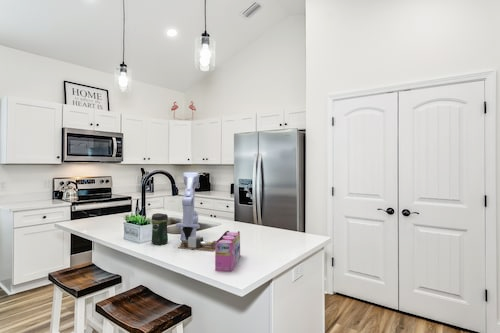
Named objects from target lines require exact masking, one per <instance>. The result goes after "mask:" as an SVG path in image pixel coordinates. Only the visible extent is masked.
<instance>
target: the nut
mask: <svg viewBox="0 0 500 333" xmlns="http://www.w3.org/2000/svg"><path fill="white" fill-rule="evenodd" d="M200 242H204V237H200V238H199V239H197V248H200V247H202V245H200Z"/></svg>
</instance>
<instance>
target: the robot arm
mask: <svg viewBox="0 0 500 333" xmlns="http://www.w3.org/2000/svg"><path fill="white" fill-rule="evenodd" d="M182 176H183V178H182V179H183V184H184V186H186V188H184V192H183V197H182V199H181V205H182V222H178V223H176V224H175V228H180V241H182V240H188V237H190V236H192V235H194V236H197V229H200V227H201V225H200V224H199V214H198V212H197V211H196V210H195V194H196V193H195V192H196V190H195V189H196V187H197V186H199V183H200V182H199V179H200V177H199V176H200V173H199V172H198V171H197V172H196V171H195V172H193V171H191V172H189V171H187V172H185V171H184V172H183V175H182Z"/></svg>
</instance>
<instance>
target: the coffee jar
mask: <svg viewBox="0 0 500 333" xmlns="http://www.w3.org/2000/svg"><path fill="white" fill-rule="evenodd" d="M168 220H169V219H168V214H166V213H159V212H158V213H153V214H152V215H151V224H152V228H151V230H152V231H151V232H152V233H151V244H152V245H153V244H154V245H158V246H160V245H166V244H167V243H168V242H169V238H168V235H169V234H168Z"/></svg>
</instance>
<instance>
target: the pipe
mask: <svg viewBox="0 0 500 333" xmlns="http://www.w3.org/2000/svg"><path fill="white" fill-rule="evenodd" d="M181 242H182V243H185V244H188V240H181ZM212 242H213V241H211V242H210V241H203V242H200V245H202V246H212Z"/></svg>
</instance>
